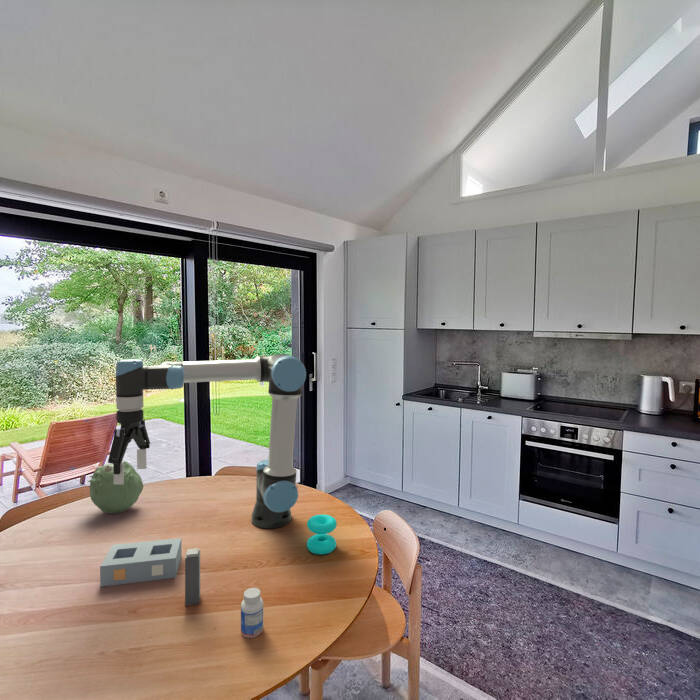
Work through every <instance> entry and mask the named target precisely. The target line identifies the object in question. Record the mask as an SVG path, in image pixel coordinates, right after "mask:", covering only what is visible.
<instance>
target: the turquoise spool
mask: <svg viewBox="0 0 700 700" xmlns="http://www.w3.org/2000/svg"><path fill="white" fill-rule="evenodd" d="M337 524H338V523H337V520H336V518H334V517H333V516H331V515H329V514H324V513H323V514H316V515H313V516H311V517H309V518H308V520H307V523H306V526H307V528H308V530H309V531H310V532H311V533H314V534H313V535H312V536H310V537H309V538H308V539H307V542H306V548H307V549H308V551H310V553H312V554H314V555H327V554H330V553H332V552H333V551H334V550H335V549H336V547H337V541H336V539H335V538H334V537H333V536H332V535H330V533H332V532H333V531H334V530H335V529H336V528H337Z"/></svg>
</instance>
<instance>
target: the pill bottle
mask: <svg viewBox="0 0 700 700" xmlns="http://www.w3.org/2000/svg"><path fill="white" fill-rule="evenodd" d="M263 630H264V600H263V598H262V597H261V590H260V589H259V588H257V587H250V588H247V589H246V590H244V592H243V600H242V601H241V604H240V633H241V634H242V636H243V637H245V638H248V639H249V638H256V637H258V636H259V635H261V633H263Z"/></svg>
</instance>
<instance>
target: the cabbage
mask: <svg viewBox="0 0 700 700" xmlns="http://www.w3.org/2000/svg"><path fill="white" fill-rule="evenodd" d="M123 462H124V484H123V485H120V484H114V474H113V463H107V464H105V465H101V466H97V467H95V469H94V472H93V473H92V474H93V475H92V474H91V476H89V478H90V480H88V481H87V482H88V483H89V496H90V500H91V502H92V503H93V505H94V506H96V507H97V508H98V509H99V510H101V512H104V513H107V514H111V515H112V514H113V515H115V514H120V513H123V512H125V511H127V510H129V509H131V508H132V506H134V505H135V503H137V501H138V499H139V497H140V496H141V494H142V492H143V489H144V483H143V481H142V477H141V475H139V473H138V472H137V471H136V469H135V468H134V466H133V465H132V464H130V463H129V462H127V461H123Z"/></svg>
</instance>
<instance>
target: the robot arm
mask: <svg viewBox="0 0 700 700" xmlns="http://www.w3.org/2000/svg"><path fill="white" fill-rule="evenodd" d="M143 361H144V360H142V359H121V360H118V361H117V362H116V364H115V365H116V366H115V374H114V375H115V396H116V397H115V402H116V410H117V411H116V415H115V418H116V423H118V424H120V428H119V429H118V428H115V429H114V430H113V439H112V442H111V448H110V452H109V455H108V460H107V464H112V463H113V474H114V484H120V485H123V484H124V461H123V460H124V457H125V454H126V452H127V449H128V446H129V444H130V443H131V441H132V440H133V441H134V442H135V444H136V446H137V447H138V448H137V449H136V466H137V467H136V469H137V470H146V469H147V449H150V445H151V441H150V437H149V433H148V431H147V428H146V420H145V419H144V409H143V408H144V407H145V406H144V391H147V390H148V391H150V390H176V389H177V390H178V389H182V388H183V387H184V384H185V383H186V384H187V383H188V384H189V383H205V382H208V383H209V382H224V381H225V382H230V381H248V380H249V381H251V380H256V382H258V383H262V382H263V383H264V382H266V383H268V395H270V397H271V398H272V399H271V412H270V413H271V414H270V415H271V416H270V430H269V431H270V432H269V447H268V459H265V460H260V461H258V462H257V464H256V469H255V471H256V481H255V482H256V484H255V485H256V496H255V497H256V499H255V503H254V506H253V510H252V512H251V518H250V519H251V523H252V524H253V526H255V527H257V528H262V529H276V528H281V527H284V526H286V525H288V524H289V523H290V522H291V520H292V511H291V508H293V507H294V506H295V505H296V503H297V501H298V498H299V489H298V487H297V485H296V483H297V469H296V468H295V466H294V465H293V463H294V449H295V447H294V446H295V435H296V420H297V418H296V417H297V403H298V399H299V398H300V397H301V396H302V394H303V393H302V392H303V385H304V383H305V381H306V379H307V370H306V366H305V365H304V364H303V362H302V361H301V360H300V359H299V358H297V357H295V355H294V356H293V355H290V354H286V353H277V354H276V353H275V354H271V355H270V354H269V355H258V356H256V357H255V358H252V359H251V358H248V359H247V358H245V359H221V360H220V359H219V360H216V359H215V360H194V361H193V360H192V361H187V360H186V361H163V362H160V363H159V364H158V365H144V362H143Z"/></svg>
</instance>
